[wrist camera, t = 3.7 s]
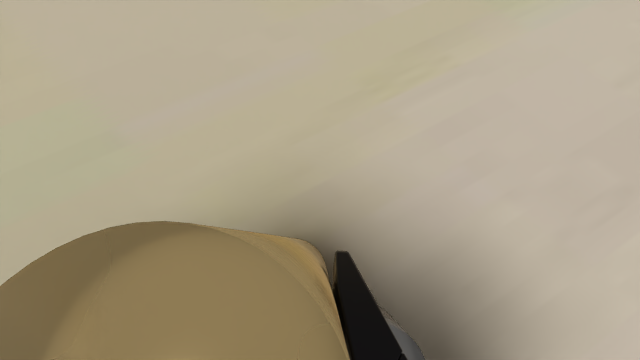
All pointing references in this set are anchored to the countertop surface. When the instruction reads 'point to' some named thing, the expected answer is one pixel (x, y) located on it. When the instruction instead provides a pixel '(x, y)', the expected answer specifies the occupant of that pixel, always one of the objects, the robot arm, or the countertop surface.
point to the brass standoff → (172, 298)
